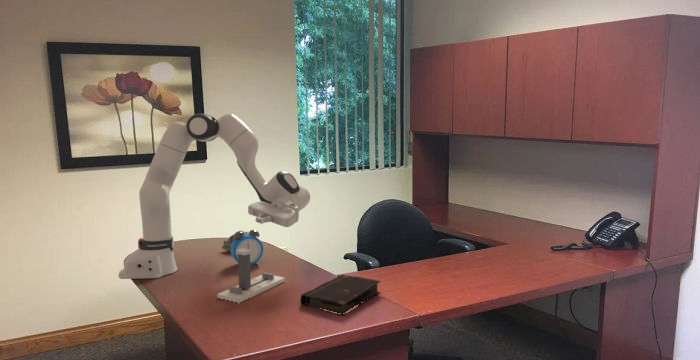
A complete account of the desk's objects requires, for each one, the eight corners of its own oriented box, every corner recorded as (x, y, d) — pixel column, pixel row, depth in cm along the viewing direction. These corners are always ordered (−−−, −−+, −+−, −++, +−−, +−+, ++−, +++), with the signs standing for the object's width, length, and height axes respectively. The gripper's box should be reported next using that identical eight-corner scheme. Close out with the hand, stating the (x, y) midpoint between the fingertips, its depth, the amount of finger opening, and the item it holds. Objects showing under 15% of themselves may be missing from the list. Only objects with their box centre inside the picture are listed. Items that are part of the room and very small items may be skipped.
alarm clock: (234, 268, 210) (232, 233, 208) (230, 264, 215) (229, 230, 213) (264, 264, 215) (263, 230, 213) (260, 260, 221) (259, 227, 219)
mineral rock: (220, 252, 235) (220, 231, 233) (235, 246, 244) (234, 226, 243) (243, 255, 229) (242, 234, 228) (256, 249, 239) (256, 229, 237)
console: (264, 277, 198) (264, 268, 198) (284, 281, 193) (284, 272, 193) (217, 298, 176) (217, 288, 176) (238, 303, 171) (238, 293, 171)
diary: (299, 307, 170) (299, 293, 169) (340, 285, 191) (340, 273, 190) (345, 318, 160) (345, 303, 159) (382, 294, 181) (382, 281, 180)
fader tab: (243, 285, 183) (242, 248, 182) (252, 287, 181) (251, 249, 179) (237, 288, 180) (235, 250, 178) (246, 290, 178) (245, 252, 176)
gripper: (261, 194, 202) (237, 206, 191) (301, 208, 193) (279, 221, 182) (261, 208, 205) (238, 220, 194) (301, 222, 195) (279, 236, 184)
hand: (258, 221), depth 188 cm, fingers closed
